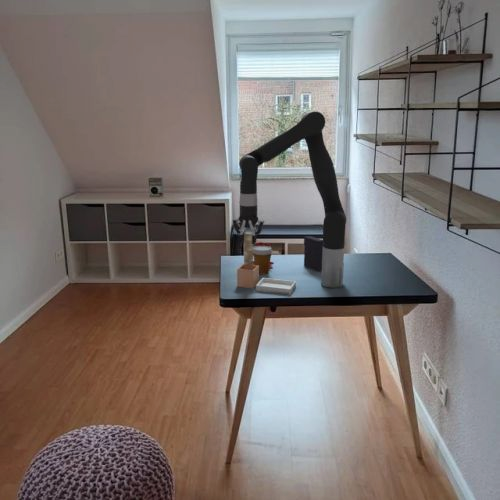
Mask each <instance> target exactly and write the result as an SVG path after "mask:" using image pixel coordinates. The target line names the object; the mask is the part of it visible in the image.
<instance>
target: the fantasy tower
mask: <svg viewBox="0 0 500 500" xmlns="http://www.w3.org/2000/svg"><path fill="white" fill-rule="evenodd" d="M255 246H269V247H271V245H270V244H269V243H267V242H265V244H264V245H263V242H261V241H259V242H258V243H257V242H256V243H255V244H254V245H253V247H255ZM271 248H272V247H271ZM274 264H275V262H274V261H270V266H269V270H273V269H274V267H273V266H272V265H274ZM253 265H254V260H253Z"/></svg>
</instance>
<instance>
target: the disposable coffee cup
mask: <svg viewBox="0 0 500 500" xmlns="http://www.w3.org/2000/svg"><path fill="white" fill-rule="evenodd" d="M254 246H255V245H254ZM254 246H253V261H254V265H257V266H259V275H267V274H269V271H270V269H269V266H270V262H271V257H272V253H273V249H272V247H269V246H255V247H254Z"/></svg>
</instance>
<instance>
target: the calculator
mask: <svg viewBox="0 0 500 500" xmlns="http://www.w3.org/2000/svg"><path fill="white" fill-rule="evenodd" d="M303 246H304V252H303V253H304V254H303V256H304V257H303V266H304V267H306V268H309V269H312V270H313V271H317V272H322V255H323V239H320V238H319V237H314V236H310V235H308V236H304V237H303Z"/></svg>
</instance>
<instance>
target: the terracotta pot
mask: <svg viewBox="0 0 500 500" xmlns="http://www.w3.org/2000/svg"><path fill="white" fill-rule="evenodd" d="M259 277H260V274H259V266H257V265H253V266H244V263H242V264H241V265H239V266H238V267H237V269H236V287H240V288H248V289H255V288H256V285H257V284H258V282H259V281H260V278H259Z"/></svg>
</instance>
